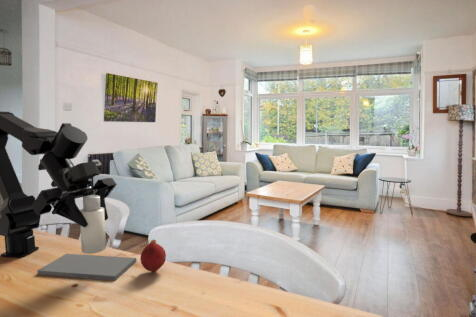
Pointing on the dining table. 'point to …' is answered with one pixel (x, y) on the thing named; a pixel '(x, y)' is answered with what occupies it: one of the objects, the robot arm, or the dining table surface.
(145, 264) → the onion
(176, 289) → the dining table surface
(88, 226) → the white bottle
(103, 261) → the slate board
